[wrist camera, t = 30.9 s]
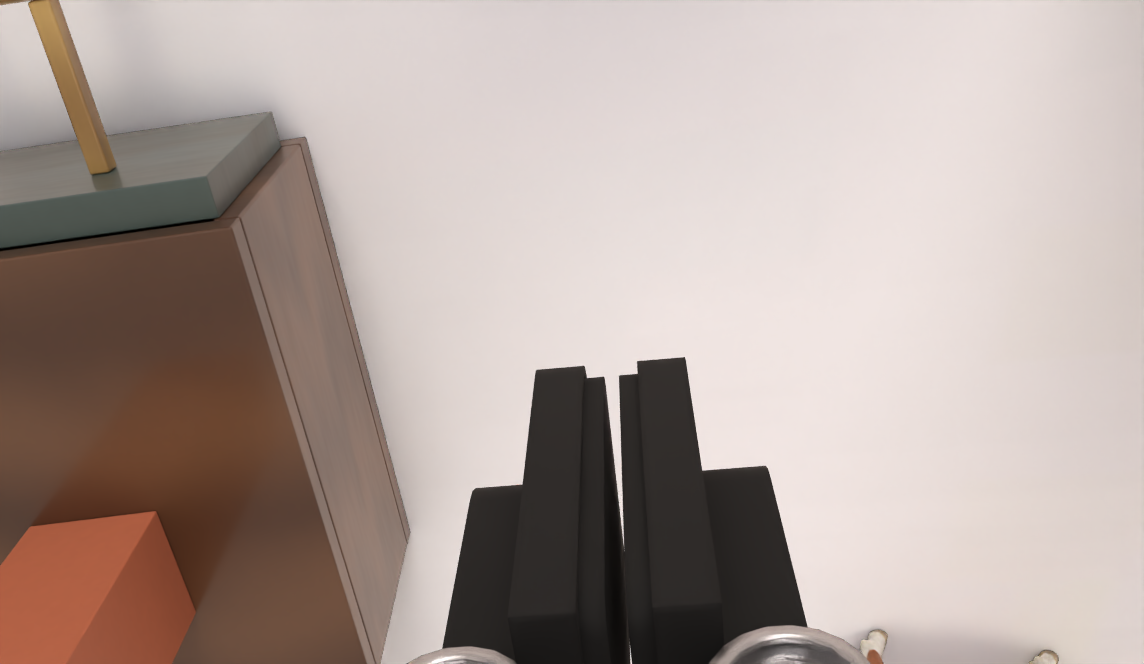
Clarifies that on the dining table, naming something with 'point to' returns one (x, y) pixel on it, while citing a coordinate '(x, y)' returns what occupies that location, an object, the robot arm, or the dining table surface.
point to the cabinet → (212, 419)
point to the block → (93, 594)
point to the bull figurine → (878, 638)
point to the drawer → (121, 164)
